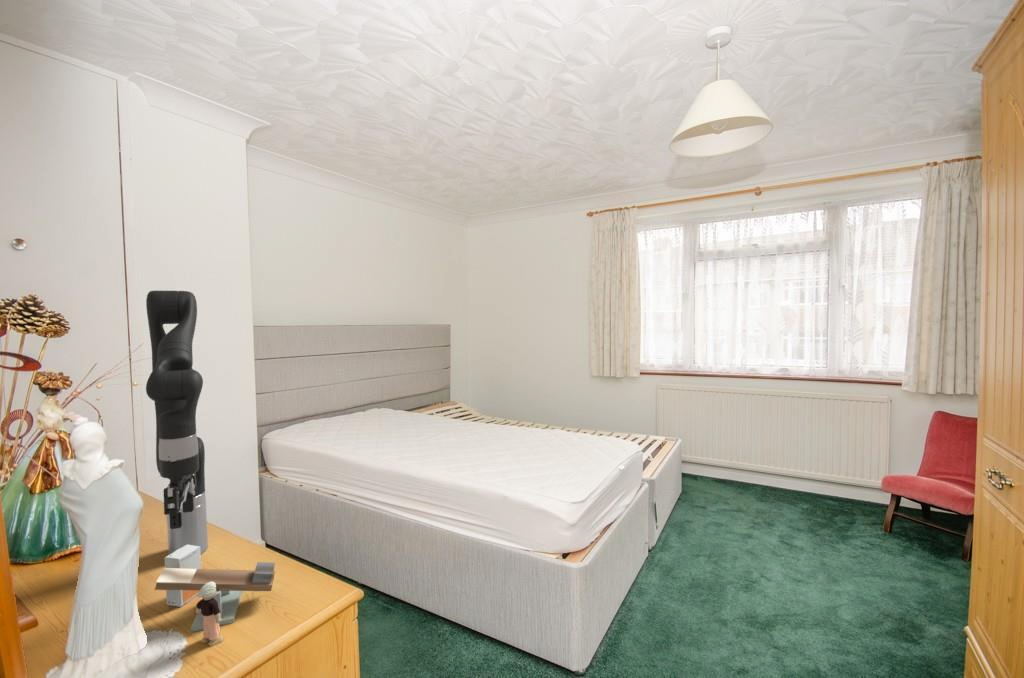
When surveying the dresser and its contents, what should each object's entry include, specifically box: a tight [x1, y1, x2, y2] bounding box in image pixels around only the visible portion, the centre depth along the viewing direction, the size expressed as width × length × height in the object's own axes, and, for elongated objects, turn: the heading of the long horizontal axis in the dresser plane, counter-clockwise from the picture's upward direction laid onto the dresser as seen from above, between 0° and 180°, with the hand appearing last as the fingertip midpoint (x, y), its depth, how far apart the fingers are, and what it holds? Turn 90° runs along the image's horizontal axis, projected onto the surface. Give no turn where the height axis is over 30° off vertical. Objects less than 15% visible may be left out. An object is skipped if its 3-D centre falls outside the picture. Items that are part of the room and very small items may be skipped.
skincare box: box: [164, 545, 202, 608], centre depth 109 cm, size 6×4×12 cm
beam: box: [154, 561, 276, 592], centre depth 104 cm, size 7×23×5 cm, turn 112°
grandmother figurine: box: [195, 582, 225, 647], centre depth 95 cm, size 8×4×13 cm, turn 77°
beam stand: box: [190, 568, 244, 633], centre depth 105 cm, size 12×8×7 cm, turn 22°
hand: (182, 519), depth 107 cm, fingers open, 8 cm apart
